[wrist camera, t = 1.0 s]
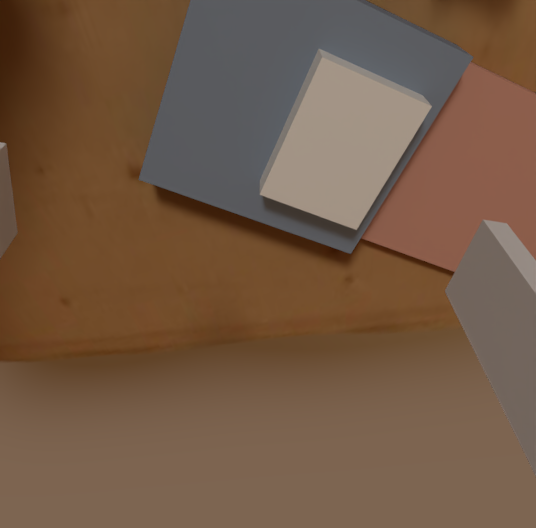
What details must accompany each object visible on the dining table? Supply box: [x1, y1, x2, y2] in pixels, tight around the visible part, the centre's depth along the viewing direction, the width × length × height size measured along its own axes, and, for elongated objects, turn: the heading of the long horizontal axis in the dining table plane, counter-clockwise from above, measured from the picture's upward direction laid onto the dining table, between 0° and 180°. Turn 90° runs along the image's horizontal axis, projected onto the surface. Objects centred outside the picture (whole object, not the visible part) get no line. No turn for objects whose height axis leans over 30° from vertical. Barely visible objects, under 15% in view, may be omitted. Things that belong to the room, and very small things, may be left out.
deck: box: [139, 0, 473, 254], centre depth 32 cm, size 16×15×3 cm
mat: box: [361, 62, 536, 272], centre depth 37 cm, size 15×14×1 cm
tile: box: [260, 49, 432, 230], centre depth 31 cm, size 7×9×2 cm
